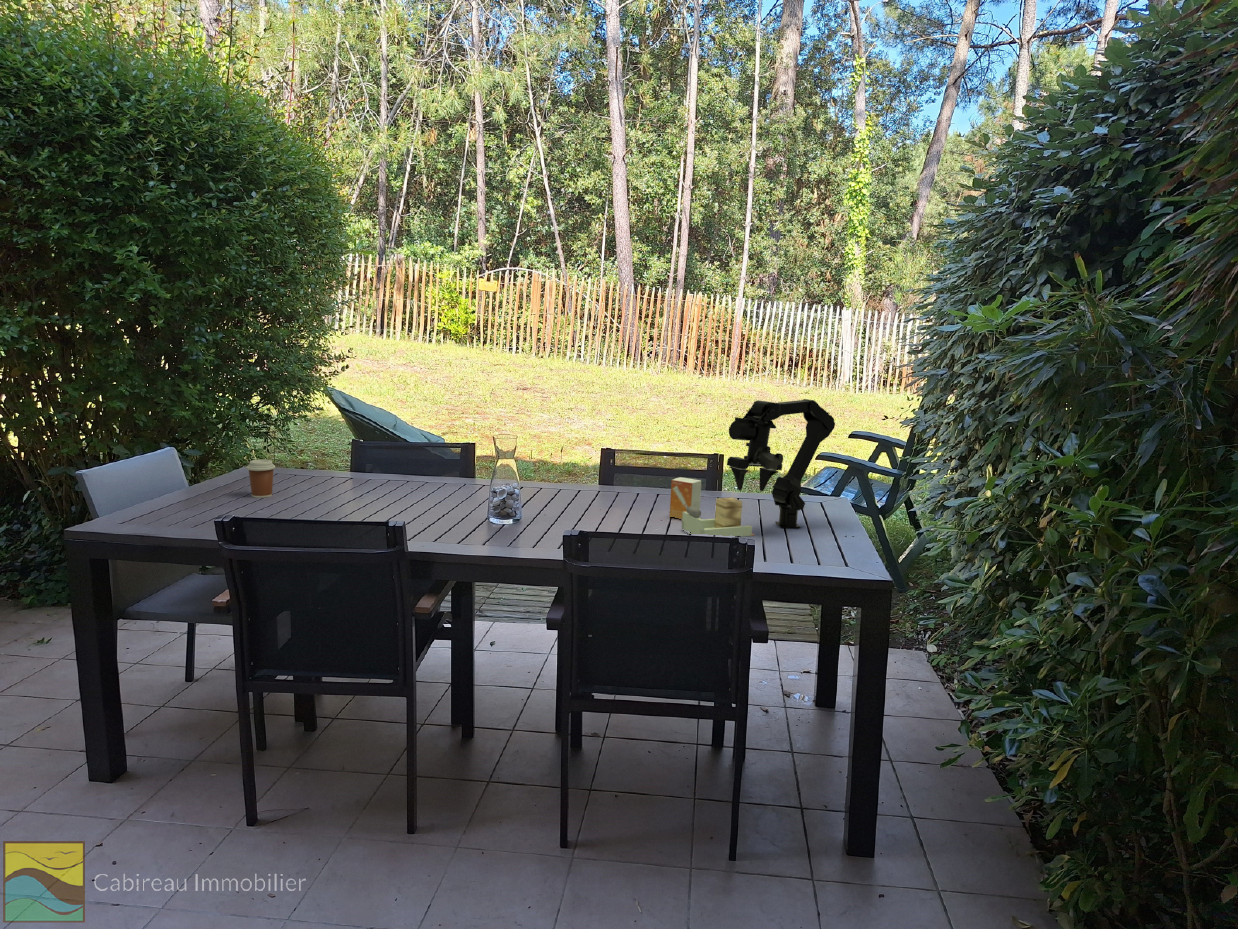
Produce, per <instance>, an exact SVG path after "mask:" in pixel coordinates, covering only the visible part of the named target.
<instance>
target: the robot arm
mask: <svg viewBox="0 0 1238 929" xmlns="http://www.w3.org/2000/svg"><path fill="white" fill-rule="evenodd" d="M795 414H802V416H803V419H804V420H805V422H806V425H805V438H804V439H803V442H802V444H801V446H800V447H799V449H798V451H797V454H796V455H795V457H794V459H793V462H792V463H791V465H790V468H789V469H788V471H787V473H786V474H785V475H784V476H783V477H782V476H778V477H777V478H776V480H775V483H774V484H773V485H772V490H771V496H772V499H773V503H774V505H775V506H777V507H779V516H778V517H779V518H778V519H779V520H778V521H774V522H775V524H776V525H777V526H778V527H780V529H800V528H801V525H799V524H798V512H799V511H801V510H802V511H803V510H804V509H805V505H806V502H805V500H803V498H802V497H801V496H800V495H801V493H802V479H803V478H804V475H805V474H806V471H807V470H808V468H809V465H810V464H811V461H812V460H813V458H814V456H815V454H816V452H817V450H818V448H819V446H820V444H821V443H822V442H823V441H824V440H826V439H827V438H829V436H830V435H831V434H832V432H833V431H834V429H835V426H836V422H835V419H834V417H833V415H830V413H829V412H828V411H827V410H825V409H824V408H823V407H821V406H820V404H819V403H818V402H817V401H816V400H813V399H807V398H804V399H800V400H790V401H779V402H774V401H768V400H767V401H765V400H760V399H759V400H755V401H753V403H752V405H751V407H750V408H749V409H748V411H747V412H746V414H744V415H743V417H735V418H734V421H732V423H730V425H729V427H728V434H729V435H728V436H729V437H730V439H732V440H735V441H748V442H746V444H745V447H747V454H746V455H743V457H739V456H729V457H728V458H727V460H726V466H728V467H729V469H731V471H732V474H733V476H734V480H735V484H736V487H737V490H738V491H740V492H741V491H742V489H743V486H744V483H745V482H744V481H745V476H746V474H747V473H748V472H749V469H748V468H749V467H758V468H759V491H760V492H764V490H765V488H766V486H767V484H768V483H769V480H770V479H771V478H772V476H774V475H775V474H777V473H779V472H780V471H783V470H782V469H783V462H784V455H783V454H782V453H779V452H778V453H777V452H776V453H772V452H771V446H769V445H768V443H769V439H770V432H771V429H777V426H776V425H775V423H774V422H773V421H774V420H777V419H779V418H780V417H782V416H787V415H795Z"/></svg>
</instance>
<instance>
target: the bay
mask: <svg viewBox="0 0 1238 929" xmlns="http://www.w3.org/2000/svg"><path fill="white" fill-rule="evenodd" d="M686 511H687V512H683V516H682V520H681V530H682V529H684V530H686V531H689V532H691V533H688V534H687V535H689V534H708V535H722V536H730V535H732V536H741V535H742V536H741V537H740V538H742V537H753V536H755V534H754V533H753V526H752V525H741V526H736V527H723V528H715V518H706V519H705V518H704V519H703V518H701V516H702V511H701V509H700V510H698V509H696V508H694V507H692V506H689V507H688V508H687V510H686Z"/></svg>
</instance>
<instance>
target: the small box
mask: <svg viewBox="0 0 1238 929" xmlns="http://www.w3.org/2000/svg"><path fill="white" fill-rule="evenodd" d="M670 482H671V483H670V484H671V485H670V501H669V502H670V503H669V518H670V517H675V518H679V519H682V516H683V512H687V511H686V510H687V508H688V507H689V506H692V507H694V508H696V509H698V510H700V511H701V493H702V480H700V479H696V478H695V479H694V478H691V477H690V478H689V477H688V478H687V477H682V476H680V477H676V478H673V479H671V481H670ZM679 519H678V520H679Z"/></svg>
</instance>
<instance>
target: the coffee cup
mask: <svg viewBox="0 0 1238 929" xmlns="http://www.w3.org/2000/svg"><path fill="white" fill-rule="evenodd" d="M275 469H276V465H275V464H274V463H273V461H272V460H271V459H260V458H259V459H253V460H250V461H249V464H248V465H247V466H246V470H247V471H248V475H249V483H250V484H249V485H250V489H251V490H250V492H251V497H252V498H257V499H259V498H260V499H265V498H270V497H272V496H273V487H274V486H273V484H274V470H275Z"/></svg>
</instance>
